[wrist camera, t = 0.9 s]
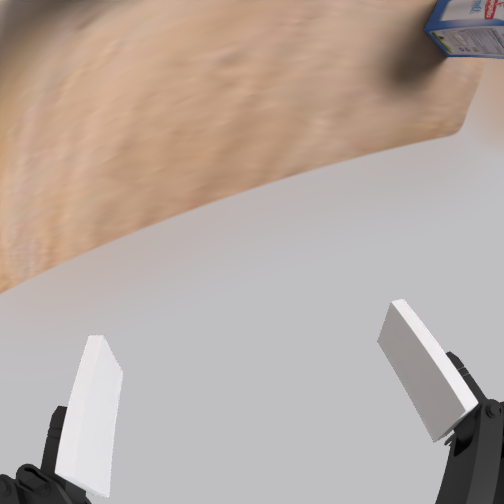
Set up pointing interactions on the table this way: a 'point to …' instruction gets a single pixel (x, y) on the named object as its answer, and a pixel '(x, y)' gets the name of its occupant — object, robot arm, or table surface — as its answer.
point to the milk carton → (468, 28)
